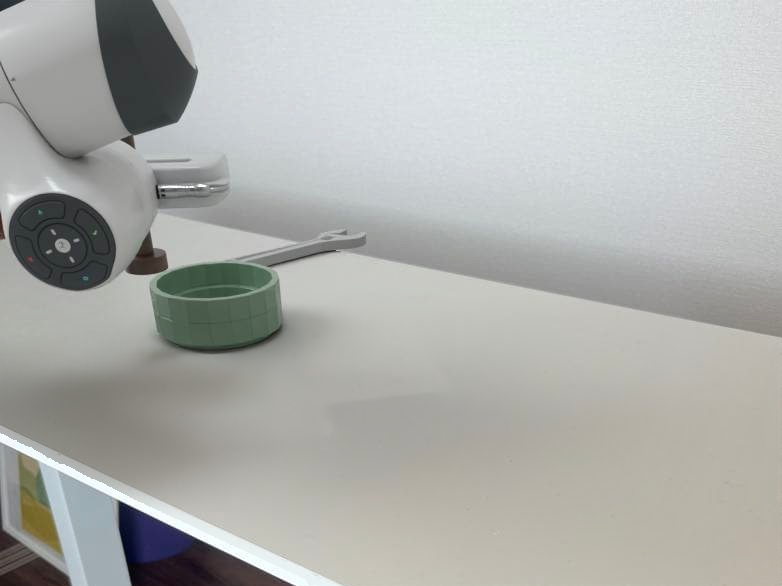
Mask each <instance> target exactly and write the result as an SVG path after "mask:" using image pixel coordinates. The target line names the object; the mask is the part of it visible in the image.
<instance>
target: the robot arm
mask: <svg viewBox="0 0 782 586" xmlns="http://www.w3.org/2000/svg"><path fill="white" fill-rule="evenodd" d="M193 48H194V47H193V45H192V42H191V40H190V37H189V34H188V32H187V30H186V27H185V26H184V24H183V22H182V20H181V18H180V16H179V14H178V13H177V11H176V9H175V8H174V6H173V5H172V3H171V2H170V1H169V0H22V1H21V2H19V3H16V4H14V5H12V6H10V7H8V8H5V9H3V10H1V11H0V216H1V221H2V223H1V224H2V230H3V234H4V237H5V241H6V245H7V246H8V248H9V250H10V252H11V254H12V255H13V257H14V258H15V260H16V261H17V263H18V264H19V265H20V267H21V268H22V269H23V270H24V271H25V272H26V273H27V274H28V275H30V276H31V277H33V278H34V279H36V280H37V281H39V282H40V283H43V284H45V285H46V286H49V287H51V288H55V289H58V290H62V291H68V292H77V293H78V292H89V291H93V290H94V291H95V290H98V289H101V288H103V287H105V286H107V285H108V284H111V283H112V282H113V281H114V280H116V279H117V278H118V277H119V276H120V275H121V274H123V273H124V272H125V269H126V268H127V267H128V266H129V264H130V263H131V262H132V261H133V259H134V258H135V256H136V254H137V253H138V251H139V249H140V247H141V245H142V242H143V240H144V239H145V237H146V236H147V234H148V232H149V230H150V231H151V228H152V227H153V225H154V222H155V221H156V219H157V216H158V213H159V210H170V209H171V210H173V209H198V208H209V207H213V206H216V205H219V204H220V203H222V202H223V201H224V200H225V199H226V198H227V197H228V196H229V194H230V192H231V177H230V168H229V161H228V157H227V155H226V153H224V152H222V151H215V150H211V151H205V150H204V151H173V152H171V151H170V152H138V150H137V149H136V150H135V149H134V148H132V147H131V146H130V145H128V144H126V143H125V142H123V141H121V140H120V139H122V138H125V137H127V136H129V135H133V136H135V137H136V136H139V135H142V134H145V133H147V132H152V131H154V130H158V129H162V128H164V127H167V126H170V125H171V126H172V125H175V124H176V123H178V122H179V121H180V119H181V118H182V117H183V114H184V113H185V111H186V109H187V107H188V105H189V102H190V100H191V97H192V95H193V92H194V89H195V87H196V83H197V79H198V75H199V68H198V66H197V63H196V57H195V53H194V49H193Z"/></svg>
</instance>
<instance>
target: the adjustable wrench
mask: <svg viewBox="0 0 782 586" xmlns="http://www.w3.org/2000/svg"><path fill="white" fill-rule="evenodd" d="M366 244H367V233H366V231H360V232H359V233H356V234H350V235H348V230H347V228H346V229H345V228H343V229H341V228H340V229H333V230H328V231H324V232H319V235H317V237H315V238H312V239H308V240H305V241H301V242H296V243H291V244H288V245H283V246H279V247H275V248H270V249H266V250H262V251H258V252H253V253H249V254H245V255H240V256H237V257H232V258H228V259H223V260H222V261H241V262H249V263H256V264H260V265H263V266H267V267H269V266H272V265H276V264H279V263H283V262H287V261H291V260H295V259H298V258H303V257H306V256H311V255H314V254H318V253H322V252H330V251H338V250H350V249H357V248H361V247H364V246H365V245H366Z"/></svg>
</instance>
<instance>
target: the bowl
mask: <svg viewBox="0 0 782 586" xmlns="http://www.w3.org/2000/svg"><path fill="white" fill-rule="evenodd" d="M148 288H149V293H150V294H149V295H150V298H151V305H152V309H153V315H154V320H155V326H156V332H157V333H158V335H160V336H161V337H162V338H163V339H165V340H168V341H170V342H172V343H173V344H175V345H177V346H180V347H184V348H188V349H195V350H207V351H208V350H209V351H210V350H211V351H213V350H228V349H235V348H236V349H237V348H240V347H245V346H246V347H247V346H249V345H252V344H255V343H258V342H260V341H263V340H264V339H267V338H269V336H271V335H272V334H273V333H274V332H275V331H277V330H279V329H280V327H281V325H282V324H283V322H284V317H283V316H284V315H283V305H282V304H283V303H282V294H281V282H280V277H279V274H278V271H276V270H274V269H273V268H271V267H270V266H263V265H260V264H256V263H249V262H241V261H223V260H217V261H205V262H204V261H203V262H197V263H189V264H184V265H181V266H177V267H173V268H170V269H169V268H168V269H167V270H165V271H163V272H161V273H157V275H156V274H155V276H154V277H153V278H152V279H150V280H149V286H148Z"/></svg>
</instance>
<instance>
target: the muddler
mask: <svg viewBox="0 0 782 586" xmlns="http://www.w3.org/2000/svg"><path fill="white" fill-rule="evenodd" d="M120 140H121V141H123V142H125V143H126V144H128V145H130V146H131V147H132V148H134V149H135V150H136V151H137V148H136V142H135V138H134V135H129V136H127V137H125V138H122V139H120ZM167 270H169V262H168V256H167V251H166V250H164V249H162V248H159V247H154V244H153V239H152V233H151V229H150V230H149V232H148V234H147V236H146V237H145V239H144V240H143V242H142V245H141V247H140V249H139V251H138V253H137V254H136V256H135V258H134V259H133V261H132V262H131V263H130V264H129V266H128V267H127V268H126V269H125V270H124V272H125V273H126V274H129V275H134V276H151V275H156V274H157V275H158V274H160V273H162V272H165V271H167Z"/></svg>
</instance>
